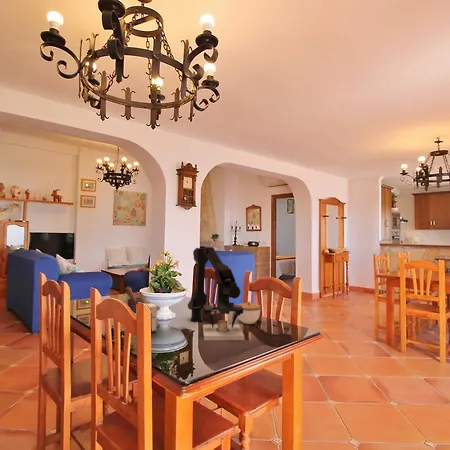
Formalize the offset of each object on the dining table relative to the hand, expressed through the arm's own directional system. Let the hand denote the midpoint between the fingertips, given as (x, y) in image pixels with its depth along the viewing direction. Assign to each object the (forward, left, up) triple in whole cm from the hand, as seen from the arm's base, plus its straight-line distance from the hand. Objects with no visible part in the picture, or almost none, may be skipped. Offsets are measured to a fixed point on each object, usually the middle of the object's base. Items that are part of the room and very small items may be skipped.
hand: (222, 327), depth 154 cm
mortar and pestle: (-17, -44, -3) cm, 47 cm away
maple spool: (0, 0, -3) cm, 3 cm away
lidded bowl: (-20, +16, -3) cm, 26 cm away
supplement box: (-5, -36, -3) cm, 36 cm away
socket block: (0, 0, -3) cm, 3 cm away
